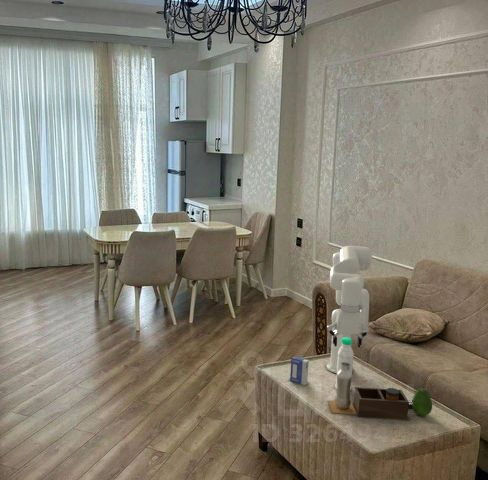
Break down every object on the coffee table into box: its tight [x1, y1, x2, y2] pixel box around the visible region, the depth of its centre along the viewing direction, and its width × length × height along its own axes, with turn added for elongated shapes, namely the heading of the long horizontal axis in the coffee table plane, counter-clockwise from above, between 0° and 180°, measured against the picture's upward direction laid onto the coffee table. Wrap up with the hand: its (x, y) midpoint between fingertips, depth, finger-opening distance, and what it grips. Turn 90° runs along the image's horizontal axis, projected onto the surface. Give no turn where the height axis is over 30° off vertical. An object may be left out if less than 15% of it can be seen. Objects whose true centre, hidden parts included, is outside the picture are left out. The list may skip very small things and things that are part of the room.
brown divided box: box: [352, 386, 410, 420], centre depth 231 cm, size 11×20×8 cm, turn 84°
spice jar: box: [385, 387, 400, 400], centre depth 230 cm, size 5×5×10 cm
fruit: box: [411, 387, 433, 417], centre depth 228 cm, size 8×8×12 cm
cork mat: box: [328, 400, 357, 415], centre depth 234 cm, size 10×10×1 cm
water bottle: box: [334, 337, 355, 391], centre depth 249 cm, size 7×7×25 cm
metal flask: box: [334, 362, 353, 409], centre depth 232 cm, size 6×7×20 cm
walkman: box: [289, 355, 310, 386], centre depth 257 cm, size 8×3×12 cm, turn 54°
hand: (346, 345), depth 229 cm, fingers open, 9 cm apart
